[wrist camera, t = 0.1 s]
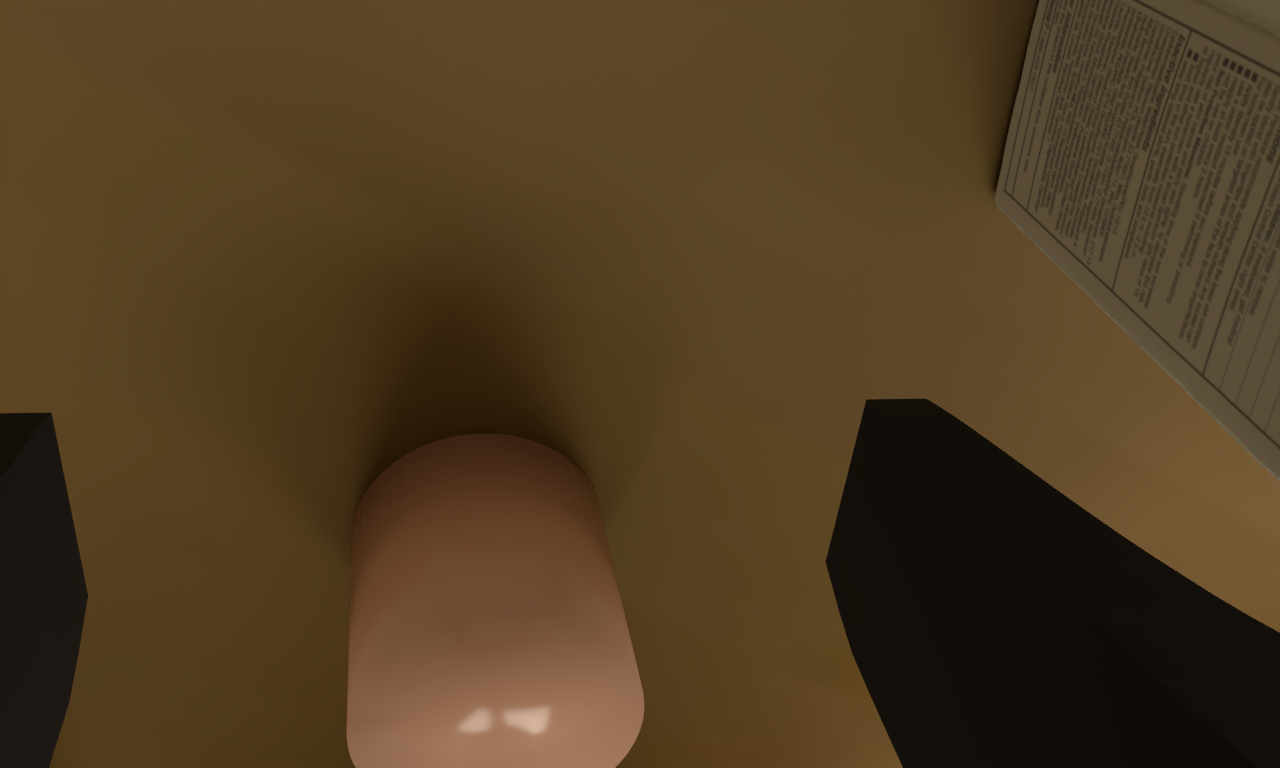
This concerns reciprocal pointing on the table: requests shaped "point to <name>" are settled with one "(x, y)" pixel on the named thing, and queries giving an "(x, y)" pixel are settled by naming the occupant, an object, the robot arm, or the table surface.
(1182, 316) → the box
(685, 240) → the table surface
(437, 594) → the terracotta cylinder
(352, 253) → the table surface
